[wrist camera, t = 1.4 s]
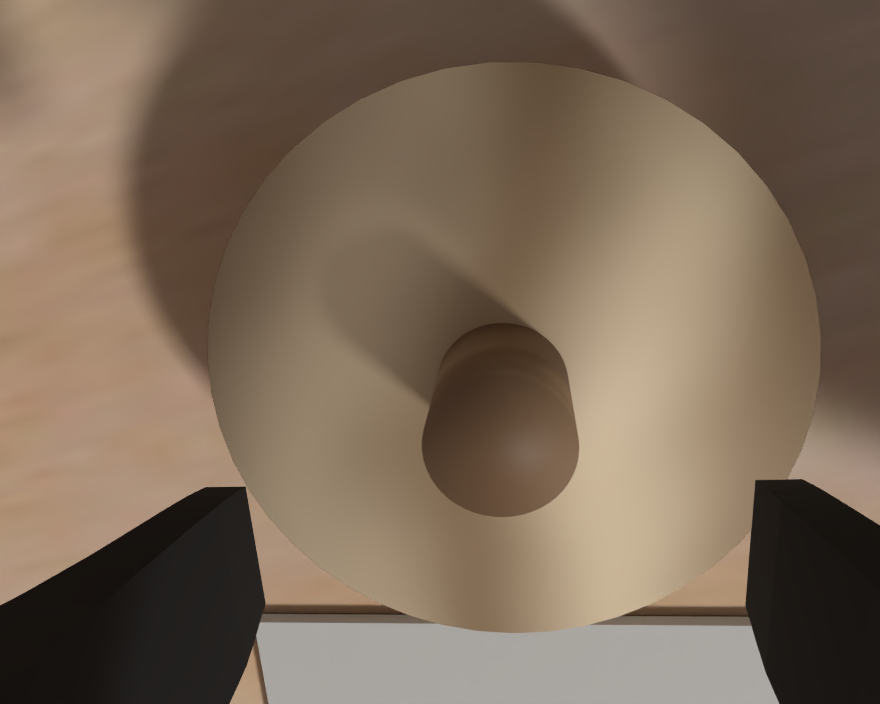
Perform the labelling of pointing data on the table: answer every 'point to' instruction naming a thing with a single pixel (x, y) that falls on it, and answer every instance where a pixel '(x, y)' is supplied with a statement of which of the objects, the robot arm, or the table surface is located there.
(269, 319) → the lid
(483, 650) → the mat
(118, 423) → the table surface
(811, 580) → the robot arm
